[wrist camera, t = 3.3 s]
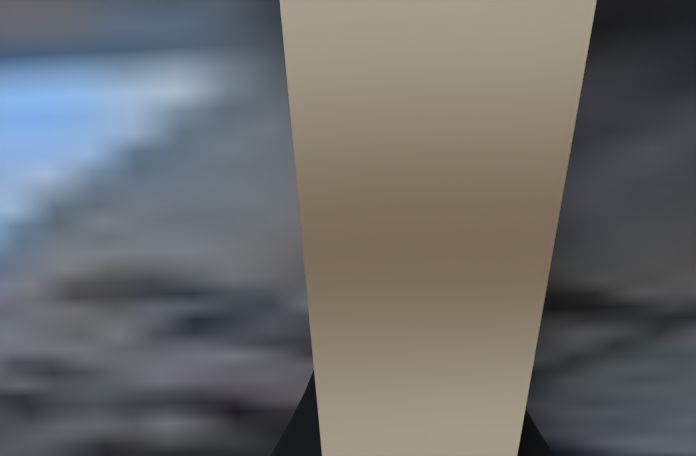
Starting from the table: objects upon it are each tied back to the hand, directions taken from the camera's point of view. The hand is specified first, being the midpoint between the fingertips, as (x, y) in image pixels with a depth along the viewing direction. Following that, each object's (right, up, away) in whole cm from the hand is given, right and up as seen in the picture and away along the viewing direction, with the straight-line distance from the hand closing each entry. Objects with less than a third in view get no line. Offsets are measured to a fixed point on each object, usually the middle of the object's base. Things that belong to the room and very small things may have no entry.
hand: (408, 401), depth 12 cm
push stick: (0, +6, -2) cm, 6 cm away
